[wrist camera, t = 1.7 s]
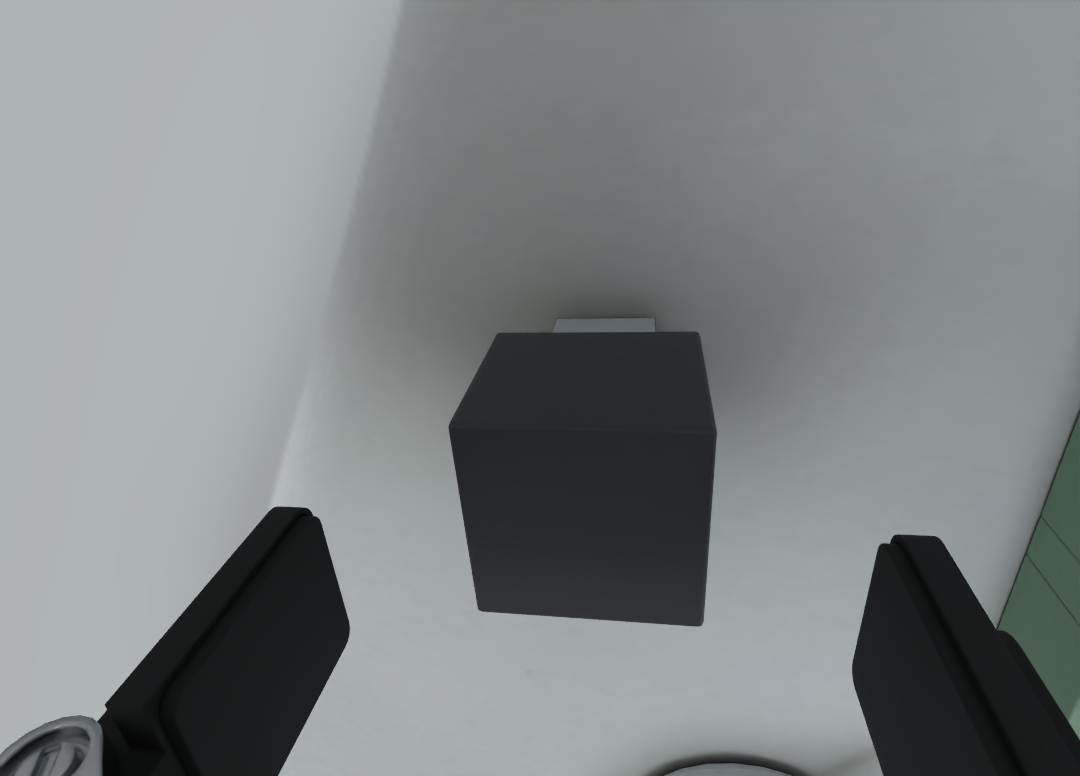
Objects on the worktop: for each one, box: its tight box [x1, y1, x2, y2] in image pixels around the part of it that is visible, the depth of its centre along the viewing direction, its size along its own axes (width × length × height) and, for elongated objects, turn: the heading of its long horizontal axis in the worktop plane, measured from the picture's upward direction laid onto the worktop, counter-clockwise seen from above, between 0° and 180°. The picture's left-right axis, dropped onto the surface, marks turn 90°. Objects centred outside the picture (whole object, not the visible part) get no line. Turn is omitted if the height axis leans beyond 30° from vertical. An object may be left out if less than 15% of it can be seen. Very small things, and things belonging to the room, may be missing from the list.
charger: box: [449, 318, 717, 626], centre depth 14 cm, size 4×4×7 cm
